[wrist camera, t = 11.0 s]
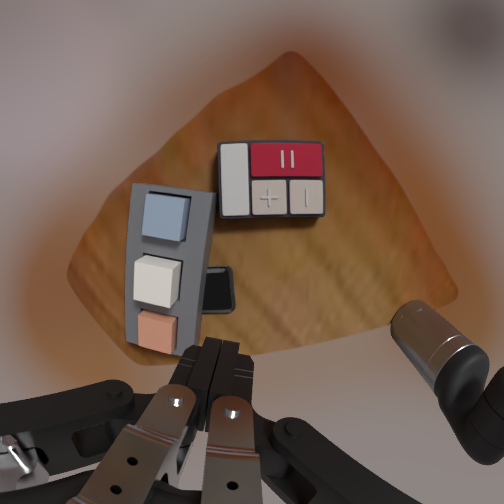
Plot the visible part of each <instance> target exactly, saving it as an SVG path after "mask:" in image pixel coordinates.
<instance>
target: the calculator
mask: <svg viewBox="0 0 504 504" xmlns="http://www.w3.org/2000/svg"><path fill="white" fill-rule="evenodd" d="M217 148H218V187H219V214H220V218H221V219H239V218H277V217H323V216H325V167H324V145H323V142H321V141H297V140H252V141H226V142H219V143H218V145H217Z"/></svg>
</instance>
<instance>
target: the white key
mask: <svg viewBox="0 0 504 504" xmlns="http://www.w3.org/2000/svg"><path fill="white" fill-rule="evenodd" d="M180 270H181V262H179V261H174V260H169V259H164V258H158V257H153V256H149V255H145V256H143V257H142V258H140V259H138V260H136V261H135V265H134V297H133V299H134V300H138V301H142V302H146V303H150V304H154V305H158V306H162V307H167V308H170V307H171V306H172V305H173V304H174V302H175V301H176V300H177V298H178V291H179V280H180Z"/></svg>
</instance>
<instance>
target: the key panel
mask: <svg viewBox="0 0 504 504" xmlns="http://www.w3.org/2000/svg"><path fill="white" fill-rule="evenodd" d="M156 193H157V194H165V195H172V196H179V197H186V198H191V205H190V212H189V219H188V227H187V235H186V238H184V239H183V240H181V241H174V240H169V239H163V238H157V237H152V236H146V235H142V226H143V217H144V208H145V200H146V194H156ZM218 196H219V193H214V192H207V191H201V190H194V189H186V188H179V187H171V186H163V185H155V184H145V183H133V186H132V194H131V203H130V212H129V222H128V234H127V249H126V271H125V325H126V341H127V342H131V343H134V344H137V345H139V344H138V315H139V314H140V313H141V312H142V311H143V310H144V309H147V310H151V311H155V312H159V313H163V314H167V315H171V316H175V317H178V330H177V344H176V346H175V348H174V350H173V352H172V353H171V354H174V355H178V356H182V355H183V353H184V350H185V349H187V348H188V347H190V346H191V345H196V346H198V345H199V339H200V330H201V320H202V307H203V298H204V290H205V282H206V274H207V267H208V263H209V256H210V249H211V242H212V235H213V228H214V221H215V215H216V208H217V202H218ZM145 255H149V256H153V257H158V258H164V259H169V260H174V261H179V262H181V270H180V280H179V291H178V298H177V300H176V301H175V302H174V304H173V305H172V306H171V307H170V308H167V307H162V306H158V305H154V304H150V303H146V302H142V301H138V300H134V299H133V297H134V265H135V261H136V260H138V259H140V258H142V257H143V256H145Z"/></svg>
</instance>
